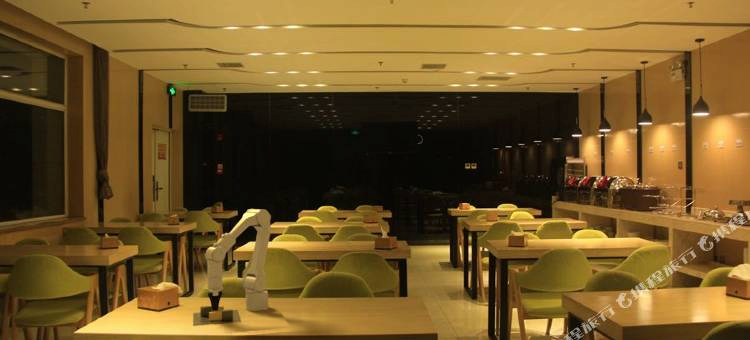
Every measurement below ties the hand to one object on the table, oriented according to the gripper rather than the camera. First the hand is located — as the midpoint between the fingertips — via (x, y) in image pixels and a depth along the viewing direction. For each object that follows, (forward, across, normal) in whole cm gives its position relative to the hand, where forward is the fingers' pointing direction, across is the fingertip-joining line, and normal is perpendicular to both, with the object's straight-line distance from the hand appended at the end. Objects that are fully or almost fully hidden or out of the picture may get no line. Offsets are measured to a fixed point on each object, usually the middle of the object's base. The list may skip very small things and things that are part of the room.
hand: (215, 310), depth 234 cm
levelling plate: (+4, 0, +1) cm, 4 cm away
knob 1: (+2, -4, -1) cm, 5 cm away
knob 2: (+3, +6, +2) cm, 6 cm away
